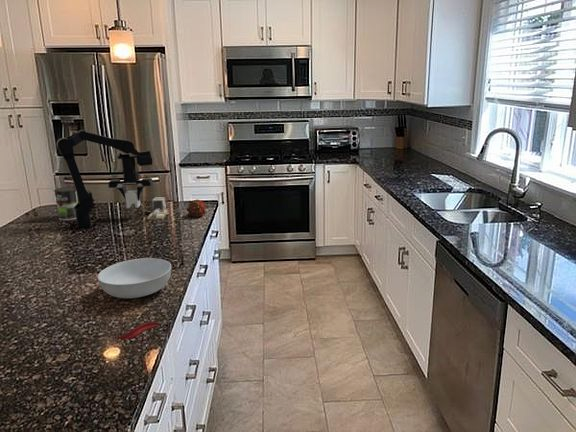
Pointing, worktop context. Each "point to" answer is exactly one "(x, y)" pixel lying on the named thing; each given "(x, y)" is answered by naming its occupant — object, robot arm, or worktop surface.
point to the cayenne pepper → (139, 330)
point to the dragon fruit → (197, 208)
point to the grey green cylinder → (66, 202)
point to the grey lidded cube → (132, 198)
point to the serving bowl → (135, 277)
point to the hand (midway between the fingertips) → (133, 201)
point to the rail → (160, 217)
